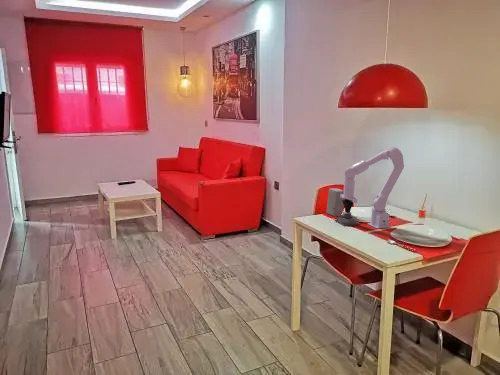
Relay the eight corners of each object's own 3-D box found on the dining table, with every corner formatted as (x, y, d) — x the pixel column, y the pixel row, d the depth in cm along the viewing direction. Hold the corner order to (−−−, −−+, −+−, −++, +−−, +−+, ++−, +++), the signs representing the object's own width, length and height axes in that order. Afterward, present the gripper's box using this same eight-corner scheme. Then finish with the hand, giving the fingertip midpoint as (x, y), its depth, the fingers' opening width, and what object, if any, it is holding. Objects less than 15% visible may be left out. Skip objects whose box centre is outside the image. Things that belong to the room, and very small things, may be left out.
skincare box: (326, 213, 241) (327, 188, 238) (335, 212, 244) (336, 187, 241) (334, 216, 233) (335, 191, 231) (343, 215, 236) (345, 190, 233)
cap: (352, 222, 218) (352, 213, 217) (345, 222, 217) (345, 213, 216) (348, 219, 223) (348, 211, 222) (341, 220, 221) (341, 211, 220)
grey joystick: (359, 224, 217) (359, 218, 216) (343, 226, 214) (344, 219, 213) (349, 220, 226) (350, 214, 226) (334, 221, 223) (334, 215, 223)
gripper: (336, 186, 222) (334, 209, 225) (349, 191, 208) (348, 216, 211) (346, 186, 224) (345, 209, 227) (361, 191, 210) (359, 215, 213)
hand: (347, 212), depth 219 cm, fingers closed, pressing on cap
